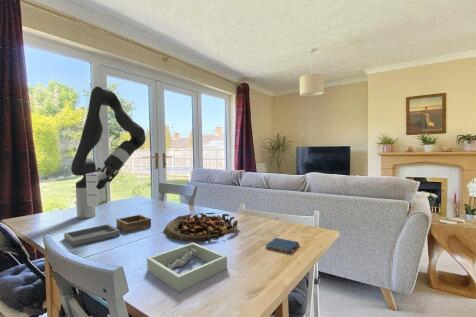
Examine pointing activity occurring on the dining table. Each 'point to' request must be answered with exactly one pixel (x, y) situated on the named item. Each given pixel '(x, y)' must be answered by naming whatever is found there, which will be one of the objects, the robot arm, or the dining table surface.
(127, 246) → the dining table surface
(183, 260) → the soldier figure
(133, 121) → the robot arm
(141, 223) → the walnut collar
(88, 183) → the syrup box
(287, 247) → the woven mat
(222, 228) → the food dish
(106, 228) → the charcoal tray
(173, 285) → the sage display box
